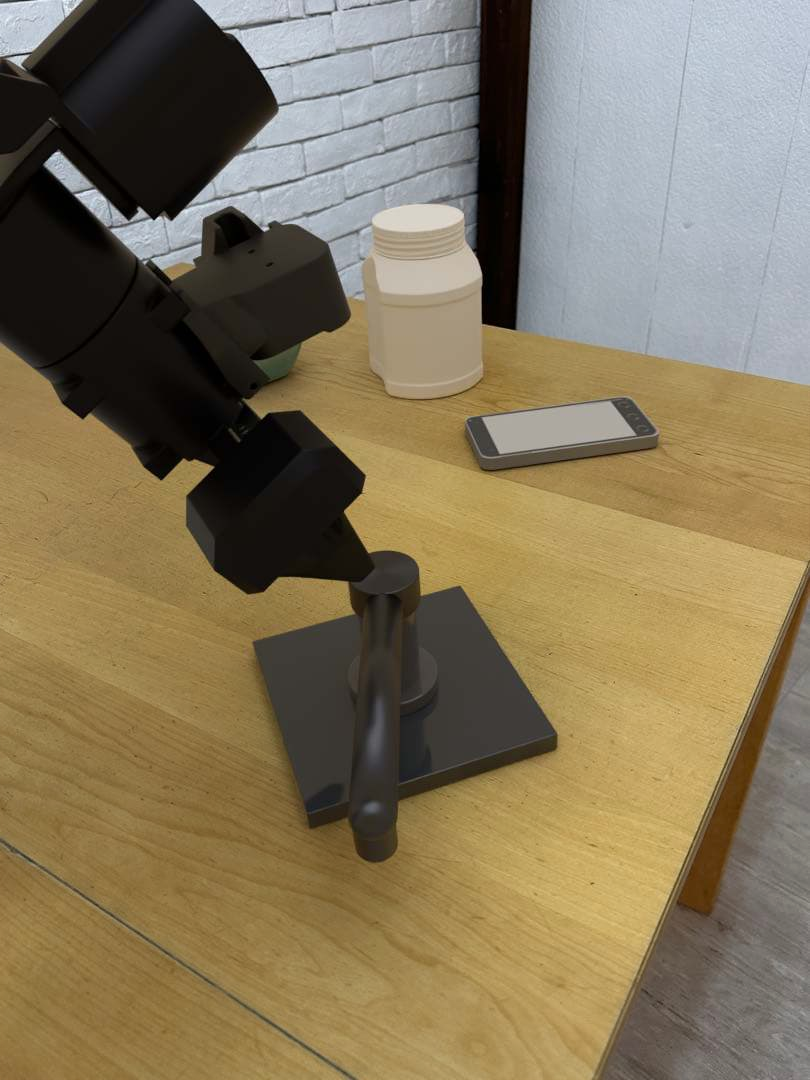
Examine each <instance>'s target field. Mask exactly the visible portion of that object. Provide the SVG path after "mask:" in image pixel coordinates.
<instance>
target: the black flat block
mask: <svg viewBox="0 0 810 1080" xmlns="http://www.w3.org/2000/svg"><path fill="white" fill-rule="evenodd" d="M362 627H363V618H361V617H359V616H358V615H357V614H356V613H352V614H348V615H345V616H341V617H338V618H333V619H330V620H326V621H323V622H319V623H315V624H312V625H308V626H304V627H301V628H297V629H293V630H289V631H286V632H283V633H278V634H275V635H272V636H267V637H264V638H260V639H256V640H253V641H252V642H251V643H252V644H251V645H252V649H253V653H254V657H255V660H256V664H257V666H258V670H259V673H260V677H261V680H262V683H263V685H264V689H265V692H266V695H267V698H268V701H269V705H270V708H271V711H272V715H273V718H274V720H275V724H276V727H277V730H278V734H279V736H280V740H281V743H282V746H283V750H284V752H285V756H286V759H287V761H288V765H289V768H290V772H291V774H292V775H291V776H292V778H293V782H294V784H295V788H296V791H297V794H298V797H299V801H300V803H301V808H302V810H303V814H304V816H305V818H306V819H305V821H306V823H307V826H308V829H314V828H317V827H320V826H323V825H327V824H329V823H332V822H335V821H338V820H342V819H345V818H348V806H349V793H350V781H351V768H352V755H353V742H354V729H355V717H356V704H357V691H358V678H359V665H360V653H361V640H362ZM491 631H492V630H491V629H490V628H489V627H488V625H487V624H486V622H485V621H484V619H483V618H482V616H481V614H480V613H479V611H478V610H477V608H476V606H475V605H474V603H473V602H472V601H471V599H470V598H469V596H468V594H467V593H466V592H465V590H464V588H463V586H462V585H455V586H453V587H449V588H445V589H442V590H437V591H434V592H430V593H427V594H424V595H423V594H421V602H420V604H419V606H418V608H417V609H416V611H415V612H414V613H412V614H411V615H410V616H408V617H406V618H404V619H402V659H401V700H400V741H399V782H398V801H400V800H403V799H406V798H409V797H412V796H416V795H418V794H421V793H425V792H429V791H430V790H434V789H437V788H439V787H443V786H447V785H449V784H452V783H455V782H458V781H461V780H464V779H467V778H471V777H473V776H476V775H480V774H483V773H486V772H489V771H493V770H495V769H499V768H502V767H505V766H508V765H511V764H514V763H517V762H520V761H523V760H526V759H530V758H533V757H535V756H539V755H542V754H545V753H548V752H551V751H554V750H556V749H558V739H559V738H558V737H559V734H558V732H557V731H556V729H555V727H554V726H553V725H552V722H551V721H550V720H549V718H548V717H547V715H546V714H545V712H544V711H543V709H542V707H541V706H540V705H539V703H538V702H537V699H535V696H533V694H532V692H531V691H530V690H529V689H530V688H528V686H527V685H526V683H525V681H524V680H523V678H522V677H521V675H520V674H519V672H518V671H517V670H516V668H515V666H514V665H513V663H512V661H511V660H510V659H509V657H508V656H507V655H506V653H505V651H504V649H503V648H502V647H501V645H500V643H499V642H498V640H497V638H495V636H494V634H493V633H492V632H491Z"/></svg>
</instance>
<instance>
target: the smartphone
mask: <svg viewBox="0 0 810 1080" xmlns="http://www.w3.org/2000/svg"><path fill="white" fill-rule="evenodd" d="M464 433H465V435H466V438H467V440H468V443H469V445H470V446H471V449H472V451H473V454H474V456H475V458H476V460H477V462H478V464H479V466H480V468H482V469H484V470H488V471H495V470H500V469H509V468H516V467H523V466H530V465H538V464H545V463H551V462H552V463H553V462H559V461H565V460H573V459H581V458H589V457H596V456H601V455H610V454H616V453H624V452H632V451H639V450H645V449H653V448H655V447H657V446H658V443H659V435H660V430H659V429H658V427H656V425H655V424H654V423H653V422H652V420H651V419H650V418H649V416H647V414H646V413H645V412H644V411H643V409H642V408H641V407H640V406H639V405H638V403H637V402H636V401H635V399H634V398H632V397H630V396H625V395H623V396H613V397H606V398H598V399H597V398H596V399H591V400H584V401H577V402H576V401H575V402H568V403H562V404H561V403H560V404H554V405H545V406H539V407H538V406H537V407H531V408H523V409H515V410H507V411H501V412H500V411H499V412H493V413H486V414H478V415H471V416H468V417H466V418H465V420H464Z"/></svg>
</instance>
